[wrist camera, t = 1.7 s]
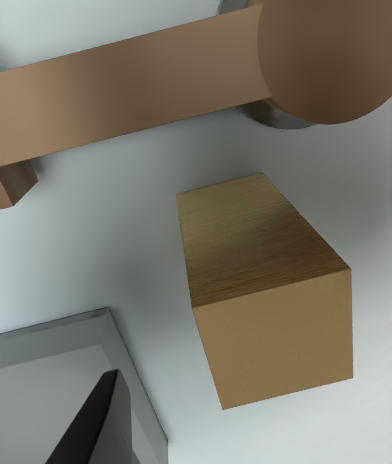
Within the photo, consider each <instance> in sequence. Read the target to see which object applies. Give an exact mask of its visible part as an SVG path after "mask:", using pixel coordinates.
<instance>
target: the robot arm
mask: <svg viewBox="0 0 392 464" xmlns="http://www.w3.org/2000/svg"><path fill="white" fill-rule="evenodd" d="M45 464H132V423H131V396H130V390H129V387H128V385H127V383H126V381H125V379H124V377H123V374H122V372H121V371H120V370H119V369H114V370H110V371H106V372H104V373H103V374H102V376H101V377H100V379H99V380H98V382H97V384H96V385H95V387H94V388H93V390H92V391H91V393H90V394H89V396H88V397H87V399H86V401H85V402H84V404H83V405H82V407H81V408H80V410H79V411H78V413H77V414H76V416H75V418H74V419H73V421H72V422H71V424H70V425H69V427H68V428H67V430H66V431H65V433H64V435H63V436H62V438H61V439H60V441H59V442H58V444H57V445H56V447H55V448H54V450H53V452H52V453H51V455H50V456H49V458H48V459H47V461H46V462H45Z"/></svg>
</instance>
